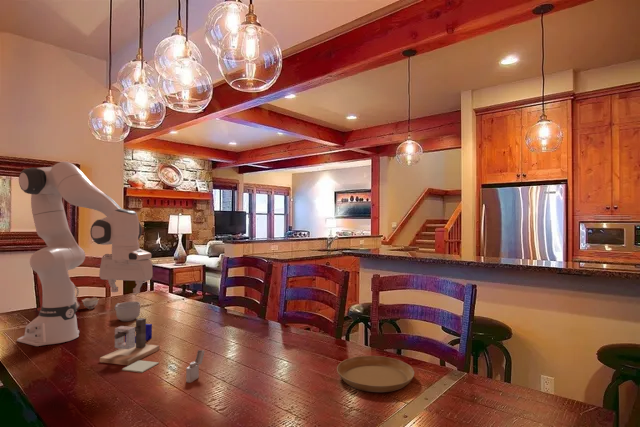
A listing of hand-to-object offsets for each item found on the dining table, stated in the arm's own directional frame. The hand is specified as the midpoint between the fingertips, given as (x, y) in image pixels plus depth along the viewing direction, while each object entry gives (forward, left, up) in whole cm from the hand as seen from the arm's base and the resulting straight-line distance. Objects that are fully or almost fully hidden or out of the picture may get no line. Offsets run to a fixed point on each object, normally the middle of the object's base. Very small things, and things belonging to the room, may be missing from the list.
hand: (125, 292), depth 134 cm
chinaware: (-78, +49, -24) cm, 95 cm away
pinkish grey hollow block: (0, 0, -20) cm, 20 cm away
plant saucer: (+89, +6, -24) cm, 92 cm away
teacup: (-39, +44, -24) cm, 64 cm away
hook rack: (0, +3, -24) cm, 24 cm away
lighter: (+34, -8, -24) cm, 42 cm away
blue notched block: (-9, +16, -24) cm, 30 cm away
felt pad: (+11, -5, -24) cm, 27 cm away
